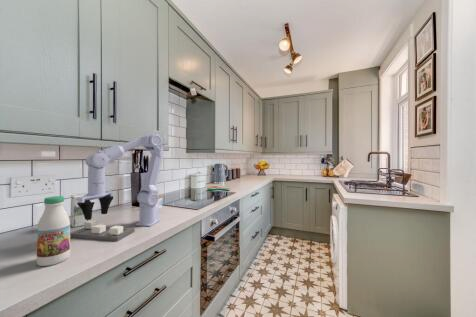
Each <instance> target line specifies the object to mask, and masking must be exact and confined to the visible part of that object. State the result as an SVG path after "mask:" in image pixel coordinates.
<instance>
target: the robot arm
mask: <svg viewBox="0 0 476 317" xmlns="http://www.w3.org/2000/svg"><path fill="white" fill-rule="evenodd" d="M163 143H164V140H163V139H162V137H161V136H160V134H157V133H152V134H143V135H140V136H137V137H135V138H133V139H131V140H129V141H126V142H124V143H123V144H121V145H118V144H110V145H108V147H107V148H104V149H102V150H101V149H99V150H97V153H91V154H89V155H88V156H87V157H86V159H85V161H84V162H85V164H86V166H87V167H88V168H87V193H85V194H86V195H84V196H82V197H78V205H79V207H80V208H81V210H82V212H83V214H84V217H85V220H88V221H89V220H92V217H93V209H94V205H95V203H96V202H94V201H93V200H97V199H98V200H99V201H98V202H99V204H100V214H101V215H107V214H108V211H109V208H110V205H111V203H112V201H113V200H114V196H113V194H114V193H113V190H106V167H107V165H108V164H110V163H111V162H114V161H115V160H117V159H119V158H122V157H123V156H124V153H126V152H129V151H131V150H133V149H135V148H137V147H139V146H140V147H141V146H142V147H143V148H144V149H146V150H147V151H148V152H149V153H150V160H149V165H148V169H147V173H146V177H145V182H144V185H143V186H142V187H140V191H139V193H137V196H136V201H137V202H138V203H139V205H138V206H139V221H138V222H137V223H135V224H134V225H135V226H141V227H151V226H153V225H155V224H156V223H158V222H160V221H161V219H160V207H159V205H158V201H159V190H158V188H157V184H158V180H159V177H160V176H159V175H160V171H161V166H162V163H163V158H164V146H163Z"/></svg>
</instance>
